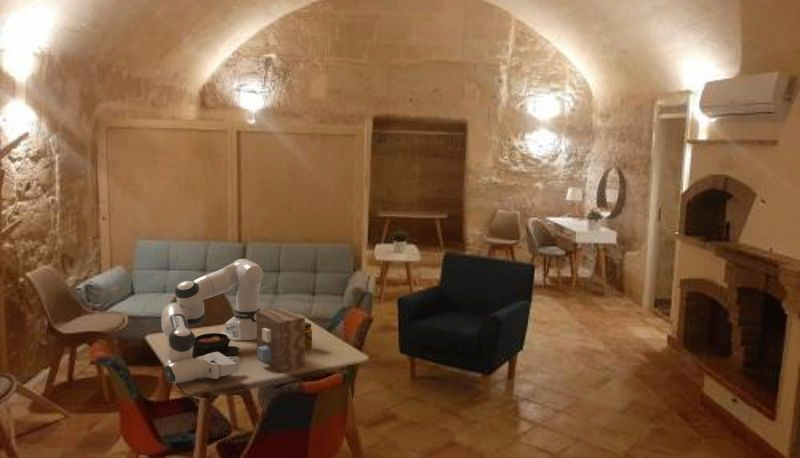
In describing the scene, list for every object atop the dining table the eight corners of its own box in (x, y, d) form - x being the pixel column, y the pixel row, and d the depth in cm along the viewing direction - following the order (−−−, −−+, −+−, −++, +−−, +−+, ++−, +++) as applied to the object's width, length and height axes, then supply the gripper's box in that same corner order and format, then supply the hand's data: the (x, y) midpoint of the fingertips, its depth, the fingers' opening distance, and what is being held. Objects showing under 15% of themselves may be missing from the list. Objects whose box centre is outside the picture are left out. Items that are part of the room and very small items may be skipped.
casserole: (178, 362, 279) (177, 344, 277) (189, 349, 297) (188, 332, 296) (235, 361, 280) (234, 343, 279) (242, 348, 299) (242, 331, 298)
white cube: (267, 342, 271) (267, 331, 270) (262, 339, 275) (261, 328, 274) (277, 340, 274) (277, 329, 273) (272, 337, 278) (272, 326, 277)
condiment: (315, 349, 299) (315, 324, 297) (298, 352, 294) (298, 327, 292) (308, 345, 305) (308, 321, 303) (292, 348, 300) (292, 323, 298)
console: (280, 372, 267) (280, 322, 264) (257, 358, 284) (256, 311, 281) (305, 366, 275) (304, 317, 272) (280, 353, 291) (280, 307, 289)
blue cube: (263, 361, 271) (262, 350, 270) (257, 358, 274) (257, 347, 274) (273, 358, 274) (273, 347, 273) (268, 355, 278) (267, 345, 277)
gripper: (197, 366, 266) (228, 359, 274) (217, 380, 250) (249, 372, 259) (197, 351, 265) (227, 345, 273) (216, 365, 249) (248, 358, 258)
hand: (238, 358), depth 266 cm, fingers closed
